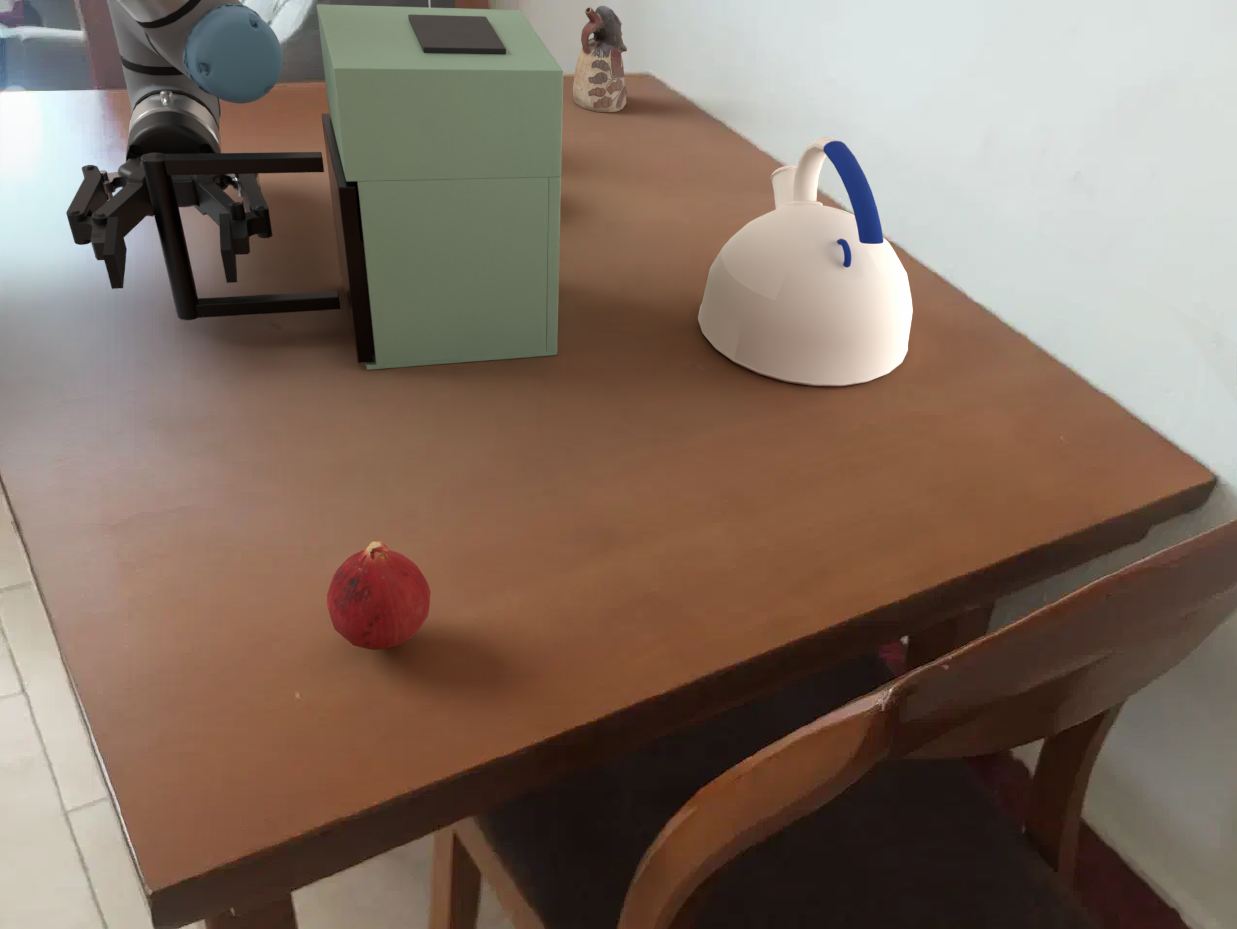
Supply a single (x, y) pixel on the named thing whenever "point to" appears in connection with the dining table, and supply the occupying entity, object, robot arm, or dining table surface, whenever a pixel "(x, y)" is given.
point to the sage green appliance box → (450, 177)
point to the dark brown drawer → (193, 307)
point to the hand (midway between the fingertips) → (171, 269)
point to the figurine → (601, 63)
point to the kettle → (811, 283)
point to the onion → (378, 598)
